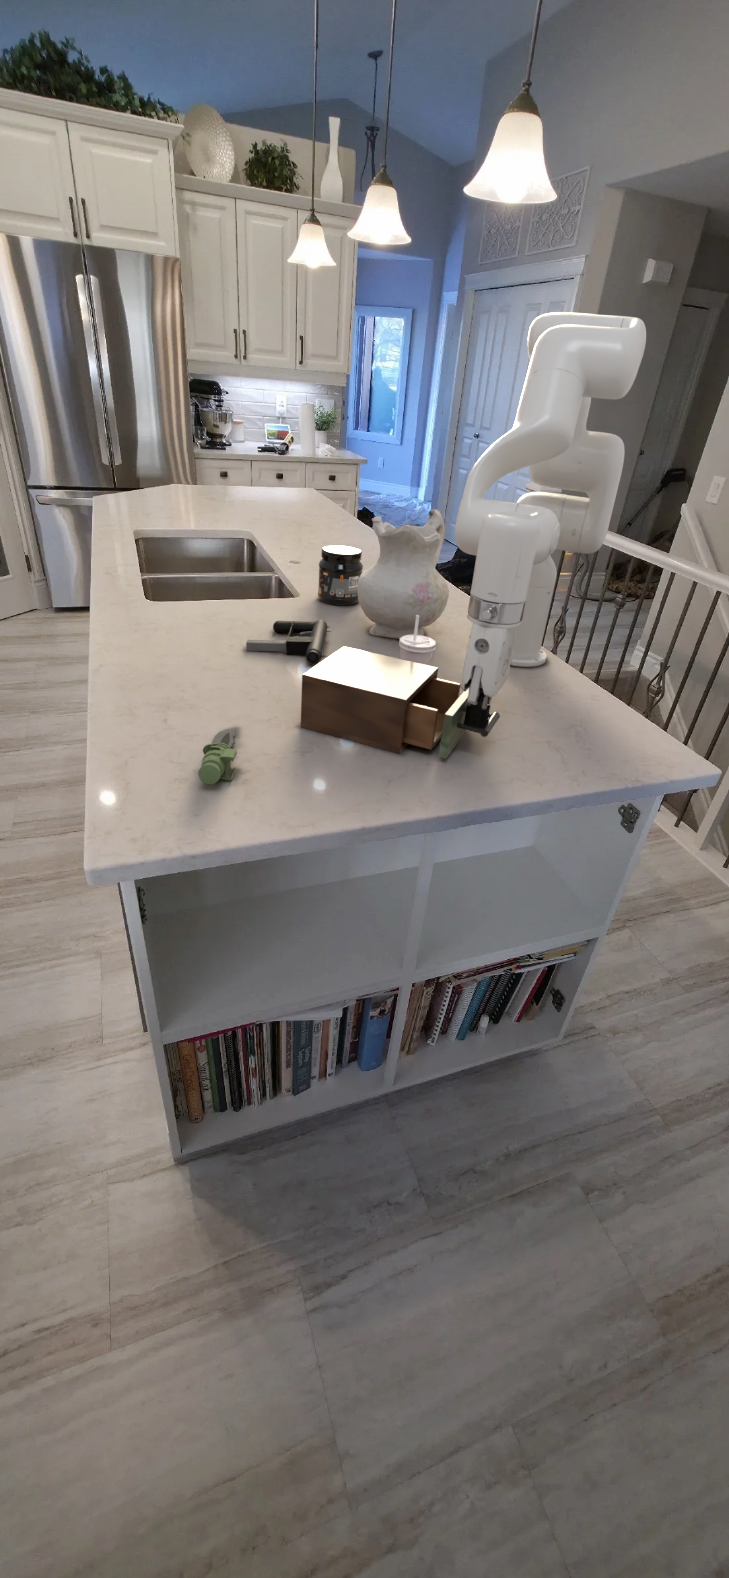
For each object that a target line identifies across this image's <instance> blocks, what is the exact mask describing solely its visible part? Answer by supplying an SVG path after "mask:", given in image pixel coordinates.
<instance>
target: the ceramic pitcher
mask: <svg viewBox="0 0 729 1578" xmlns="http://www.w3.org/2000/svg"><path fill="white" fill-rule="evenodd" d="M441 513H442V511H440V509H438V508H431V509H430V510H429V511H428V519H427V521H426V523H425V524H424V525H423V526H416V525H415V526H414V525H410V524H405V525H401V526H399V527H395V526H394V525H392V524H391V523H389V522H387V521H385V522H383V518H382V516H380V515H379V516H375V517H373V518H371V521H372V528H373V532H374V533H375V535H376V537H377V539H378V544H379V557H378V559H377V561H376V562H375V563H374V564H372V565H371V566H370V567H368V568H366V569H365V570H363V571H362V574H361V575H360V577H359V581H358V586H357V593H358V604H359V606H360V608H361V610H362V612H363V614H364V616H366V617H367V619H369V620H370V621H371V622H373V623H374V625H373V626H372V627H371V628H370V629H369V630H368V631H369V634H370V635H373V636H377V637H386V638H392V639H397V640H400V638H401V637H403V636H405V635H414V629H415V621H416V615H419V623H418V631H417V635H422V636H425V631H424V629H423V628H425V627H428V626H430V625H432V624H433V623H435V622H436V621H437V620H438V619H439V618H440V617H441V616H442V614H443V613H444V611H445V609H446V607H447V604H448V601H449V596H450V594H449V592H450V589H449V586H448V583H447V580H446V579H445V577H443V575H442V574H440V572H439V571H438V570H437V569H436V566H437V565H438V562H439V560H440V556H441V552H442V548H443V544H444V541H445V533H446V526H445V521H444V518H443V516H442V515H441Z"/></svg>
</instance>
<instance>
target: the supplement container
mask: <svg viewBox="0 0 729 1578" xmlns="http://www.w3.org/2000/svg"><path fill="white" fill-rule="evenodd" d="M320 553H321V559H320V561H319V562H318V586H317V588H318V590H317V597H318V599H319V600H320V601H321V602H323V603H326V604H329V605H333V606H351V605H355V604H357V603H359V601H358V593H357V586H358V581H359V577H360V575H361V574H362V572H363V571H364V570H363V569H364V565H363V564H362V562H361V561H362V558H363V557H362V555H363V551H362V550H361V549H360V548H357V547H354V546H351V545H344V544H343V545H342V544H331V545H325V546H323V547H321V551H320Z"/></svg>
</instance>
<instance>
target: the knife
mask: <svg viewBox="0 0 729 1578" xmlns="http://www.w3.org/2000/svg"><path fill="white" fill-rule="evenodd" d="M235 735H236V729H235V728H227V729H223V730H222V731H219V732H218V733H216V734H215V736H214V737H213V739H212V741H211V743H207V744H205V745H204V747H203V748H202V753H203V755H204V757H202V760H201V765H200V769H199V770H198V777H199V780H200V781H201V782H202V783H204V784H205V785H214V784H217V782H219V780H220V779H221V780H224V781H231V782H232V780H233V778H234V776H235V774H236V767H234V768H232V767H231V762H233V763H234V761H235V758H236V757H237V754H238V749H236V748H234V746H235V744H236V738H235Z"/></svg>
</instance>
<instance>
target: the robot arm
mask: <svg viewBox="0 0 729 1578" xmlns="http://www.w3.org/2000/svg"><path fill="white" fill-rule="evenodd" d="M646 344H647V328H646V324H645V322H644V321H643V319H641V318H640V317H635V316H625V315H611V314H596V313H585V312H573V311H572V312H571V311H569V312H567V311H558V312H555V311H554V312H548V313H543V314H540V315H539V316H536V317H535V319H534V320H533V321H532V322H531V324H530V326H529V330H528V335H527V355H528V360H529V363H528V368H527V372H526V376H525V380H524V384H523V388H522V392H521V395H520V399H519V403H518V407H517V411H516V414H515V419H514V422H513V426H512V428H511V429H510V430H509V431H507V432H506V433H505V434H503V435H502V436H501V437H499V438H498V439H497V440H496V441H494V442H493V443H491V445H490V446H489V447H488V448H487V449H486V450H485V451H484V452H483V453H482V455H481V456H480V457H479V458H478V459H477V461H476V462H475V464H474V465H473V467H472V469H471V470H470V472H469V475H468V477H467V479H466V483H465V485H464V488H463V489H464V490H463V493H462V497H461V501H460V503H459V508H458V513H457V516H456V520H455V525H454V526H455V527H454V539H455V544H456V546H457V547H458V549H459V550H460V551H462V552H463V553H465V554H466V555H467V554H468V555H472V556H475V563H474V569H473V574H472V575H473V576H472V583H471V589H470V593H469V594H470V595H469V601H468V607H467V614H466V618H467V619H468V621H470V622H471V623H472V625H471V629H470V633H469V636H468V642H467V648H466V652H465V657H464V663H463V668H462V669H463V670H462V676H461V682H460V684H461V686H460V689H462V691H463V692H464V691H466V690H467V689H468V688H469V693H468V700H467V707H466V713H465V718H464V724H466V725H470V726H474V727H478V728H483V727H484V725H485V724H486V722H487V721H488V719H489V718H488V716H489V713H490V711H491V702H492V700H493V699H492V698H493V697H495V696H496V695H497V694H498V693H499V691H500V690H501V689H502V688H503V686H504V685H505V683H506V682H507V680H508V678H509V674H510V669H511V666H512V667H520V668H531V667H532V668H533V667H538V666H541V665H544V664H545V663H546V662H547V657H548V654H547V653H546V652H545V651H544V649H542V644H543V640H544V636H545V631H546V626H547V621H548V617H549V613H550V609H551V605H552V604H551V603H552V601H553V600H552V599H553V595H554V591H555V586H556V581H557V577H558V576H557V575H558V573H557V571H558V570H557V567H556V563H555V561H554V559H553V558H552V555H553V554H554V553H555V551H556V550H557V551H562V552H563V551H564V552H570V553H577V554H586V555H587V554H594V553H596V552H598V551H599V550H600V549H601V548H602V546H603V545H604V542H605V540H606V537H607V534H608V531H609V527H610V522H611V519H612V515H613V510H614V506H615V502H616V497H617V494H618V491H619V490H618V489H619V485H620V482H621V477H622V472H623V467H624V463H625V462H624V461H625V451H626V450H625V443H624V440H623V439H622V438H621V437H620V436H619V435H617V434H614V433H610V432H603V431H593V430H587V422H588V417H589V412H590V408H591V403H592V398H594V399H604V400H621V399H622V398H624V397H625V396H626V395H627V394H628V393H629V392H630V391H631V388H632V387H633V385H634V383H635V380H636V378H637V375H638V372H639V368H640V366H641V363H642V361H643V360H642V359H643V357H644V354H645V350H646ZM527 467H528V475H529V478H530V480H531V482H533V484H536V485H538V486H540V487H545V488H551V489H559V490H566V491H573V492H574V491H575V492H580V493H586V495H587V497H585V496H577V495H568V494H564V493H556V492H548V491H532V492H527V493H525V494H523V495H522V496H520V497H519V499H517V501H516V502H512V501H503V500H498V499H487V498H485V497H486V495H487V492H488V490H489V489H490V488H491V487H492V486H493V485H494V484H495V483H496V482H497V481H498V480H500V479H501V478H503V477H505V476H507V475H509V474H511V473H513V472H516V471H518V470H521V469H524V468H527Z"/></svg>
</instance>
